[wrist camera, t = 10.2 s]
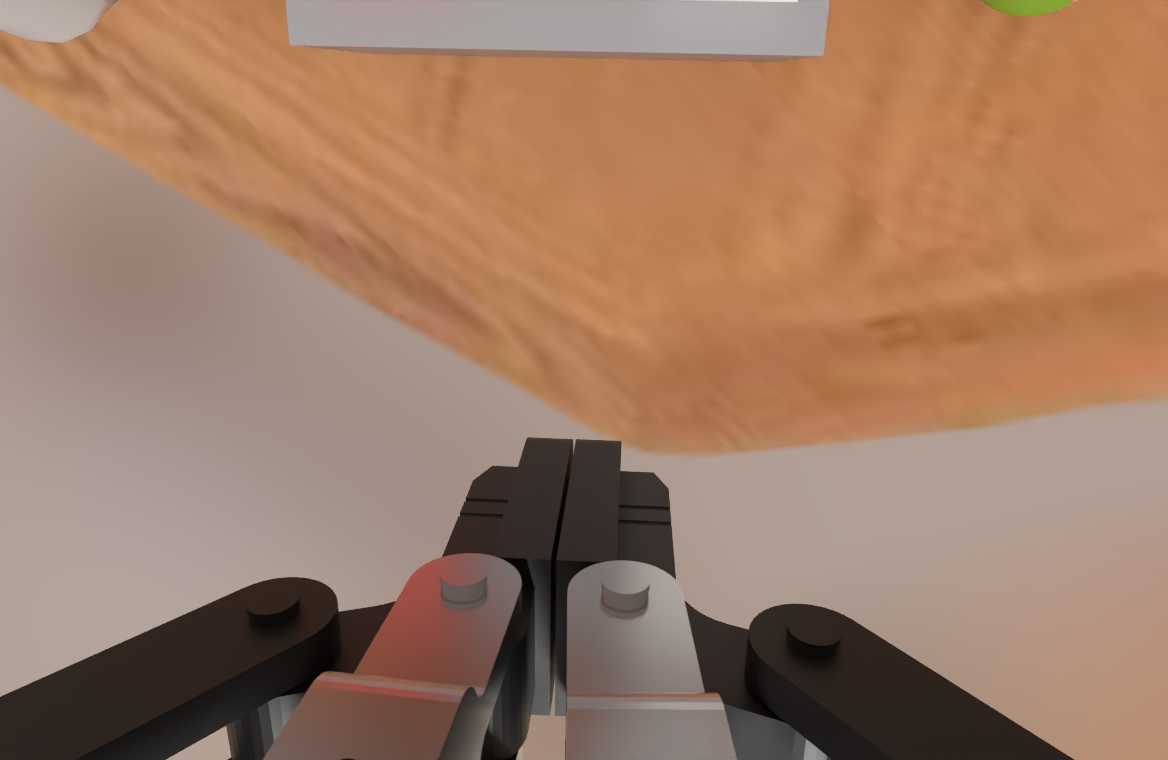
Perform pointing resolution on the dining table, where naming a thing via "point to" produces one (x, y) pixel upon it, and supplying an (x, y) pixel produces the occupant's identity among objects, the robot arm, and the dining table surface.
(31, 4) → the salt shaker
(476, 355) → the dining table surface
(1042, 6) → the snail figurine
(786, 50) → the switch box
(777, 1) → the white rocker
